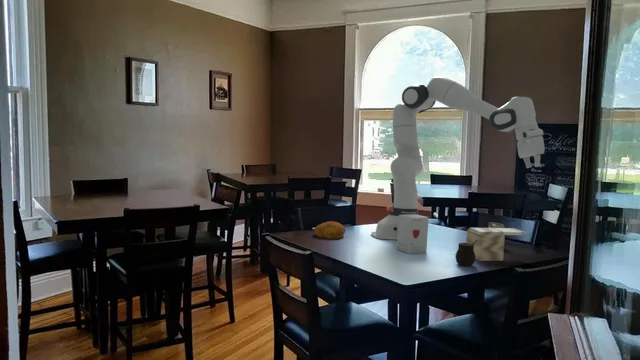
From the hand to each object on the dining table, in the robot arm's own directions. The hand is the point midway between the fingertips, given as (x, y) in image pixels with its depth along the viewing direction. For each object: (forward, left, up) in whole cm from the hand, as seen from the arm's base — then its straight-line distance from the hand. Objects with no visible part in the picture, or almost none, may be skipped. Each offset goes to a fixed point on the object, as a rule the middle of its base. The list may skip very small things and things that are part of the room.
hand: (533, 167), depth 208 cm
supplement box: (-49, +5, -37) cm, 61 cm away
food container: (-5, +17, -37) cm, 41 cm away
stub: (-11, -5, -27) cm, 30 cm away
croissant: (-78, +37, -37) cm, 94 cm away
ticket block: (-22, -5, -37) cm, 43 cm away
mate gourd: (-36, -18, -37) cm, 54 cm away
